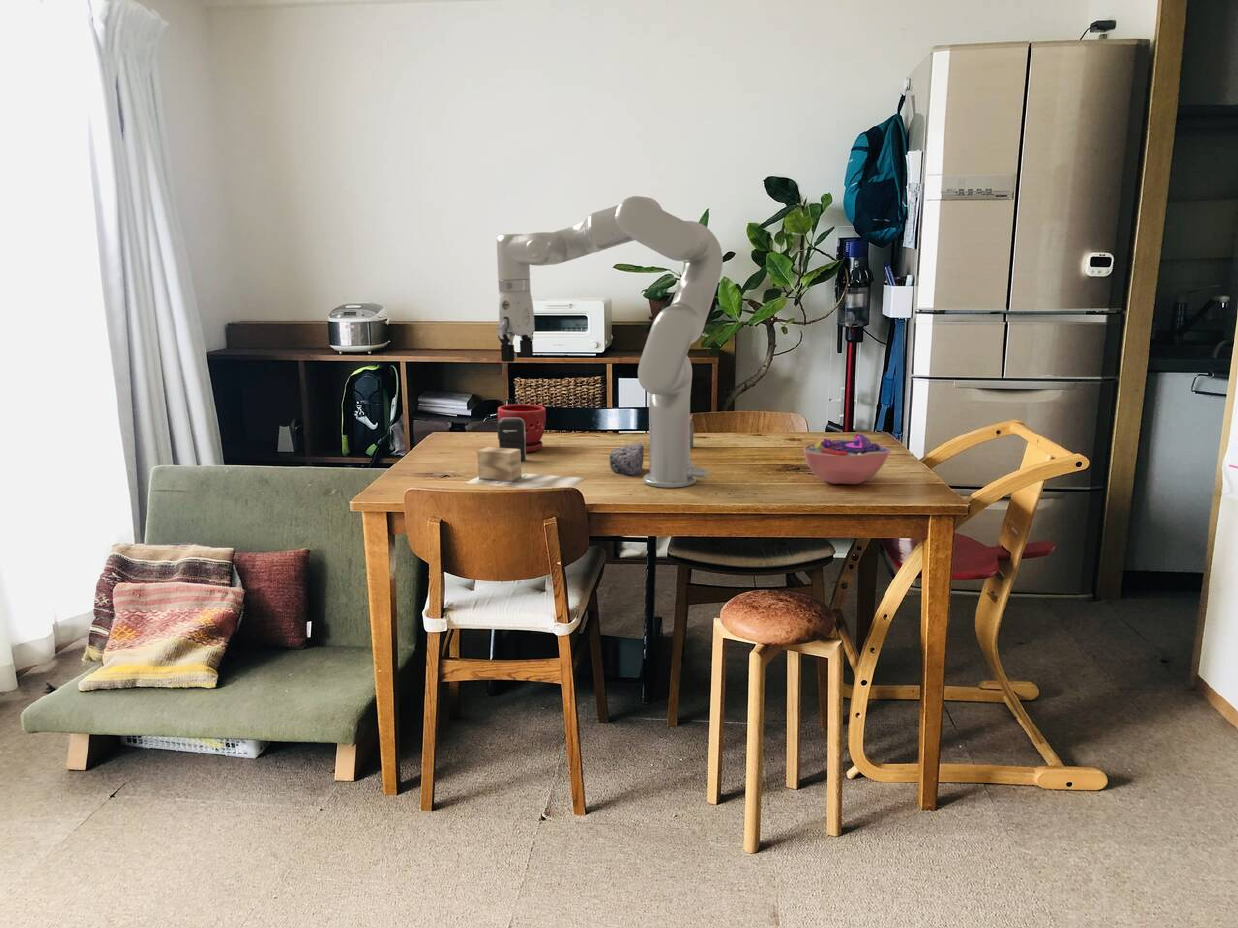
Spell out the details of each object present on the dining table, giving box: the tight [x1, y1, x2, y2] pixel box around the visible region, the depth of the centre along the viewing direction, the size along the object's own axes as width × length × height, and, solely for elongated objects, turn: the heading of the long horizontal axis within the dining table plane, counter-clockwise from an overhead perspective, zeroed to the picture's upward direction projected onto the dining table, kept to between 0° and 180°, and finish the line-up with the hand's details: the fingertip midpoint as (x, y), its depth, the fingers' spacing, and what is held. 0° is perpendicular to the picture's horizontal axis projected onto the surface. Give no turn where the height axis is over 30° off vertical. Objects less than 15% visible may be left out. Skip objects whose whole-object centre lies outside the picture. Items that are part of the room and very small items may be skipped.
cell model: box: [802, 433, 892, 485], centre depth 219 cm, size 17×20×11 cm
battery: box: [497, 418, 527, 462], centre depth 246 cm, size 7×4×11 cm, turn 86°
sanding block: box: [476, 446, 522, 482], centre depth 228 cm, size 9×5×7 cm, turn 69°
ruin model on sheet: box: [690, 413, 694, 450], centre depth 260 cm, size 11×3×10 cm, turn 78°
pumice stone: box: [609, 443, 645, 477], centre depth 233 cm, size 10×8×10 cm
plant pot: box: [497, 403, 547, 453], centre depth 260 cm, size 13×13×12 cm
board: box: [464, 472, 587, 489], centre depth 226 cm, size 26×13×1 cm, turn 69°
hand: (517, 359), depth 229 cm, fingers open, 9 cm apart
